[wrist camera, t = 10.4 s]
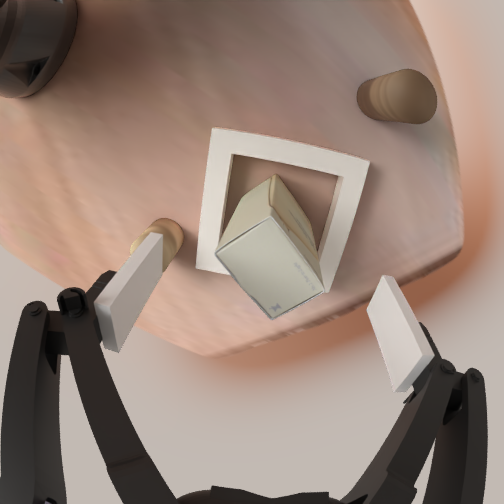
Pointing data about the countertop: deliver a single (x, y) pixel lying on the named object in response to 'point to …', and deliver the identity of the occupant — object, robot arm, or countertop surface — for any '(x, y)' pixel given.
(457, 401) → the robot arm
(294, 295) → the skincare box
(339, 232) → the white square frame
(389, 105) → the mid walnut dowel
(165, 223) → the short oak dowel
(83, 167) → the countertop surface
